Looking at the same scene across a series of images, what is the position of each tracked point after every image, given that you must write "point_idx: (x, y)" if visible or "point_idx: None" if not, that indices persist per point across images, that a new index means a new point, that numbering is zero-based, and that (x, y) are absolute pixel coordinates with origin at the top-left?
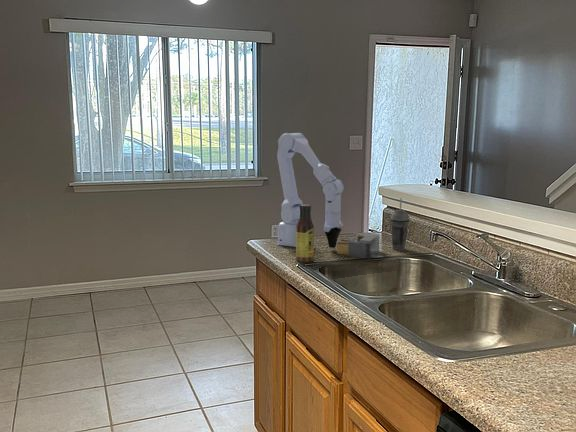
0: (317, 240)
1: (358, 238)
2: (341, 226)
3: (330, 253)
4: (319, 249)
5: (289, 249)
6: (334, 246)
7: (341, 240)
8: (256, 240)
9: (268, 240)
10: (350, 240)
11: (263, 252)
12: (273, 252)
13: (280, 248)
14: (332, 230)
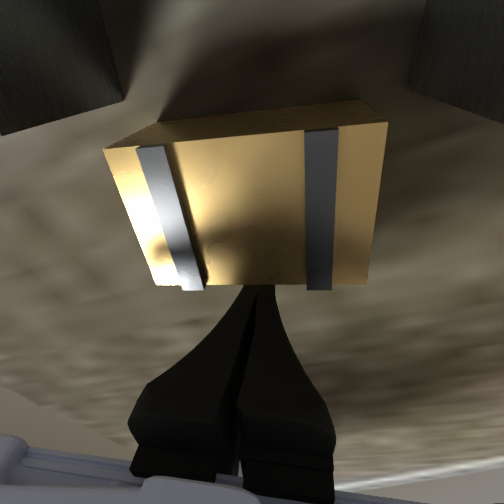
0: (90, 381)
1: (31, 116)
2: (247, 491)
3: None
4: None
5: (335, 432)
6: (272, 288)
7: (204, 282)
8: None
9: None
10: (164, 197)
11: (427, 479)
12: (418, 461)
13: None
14: (328, 470)
